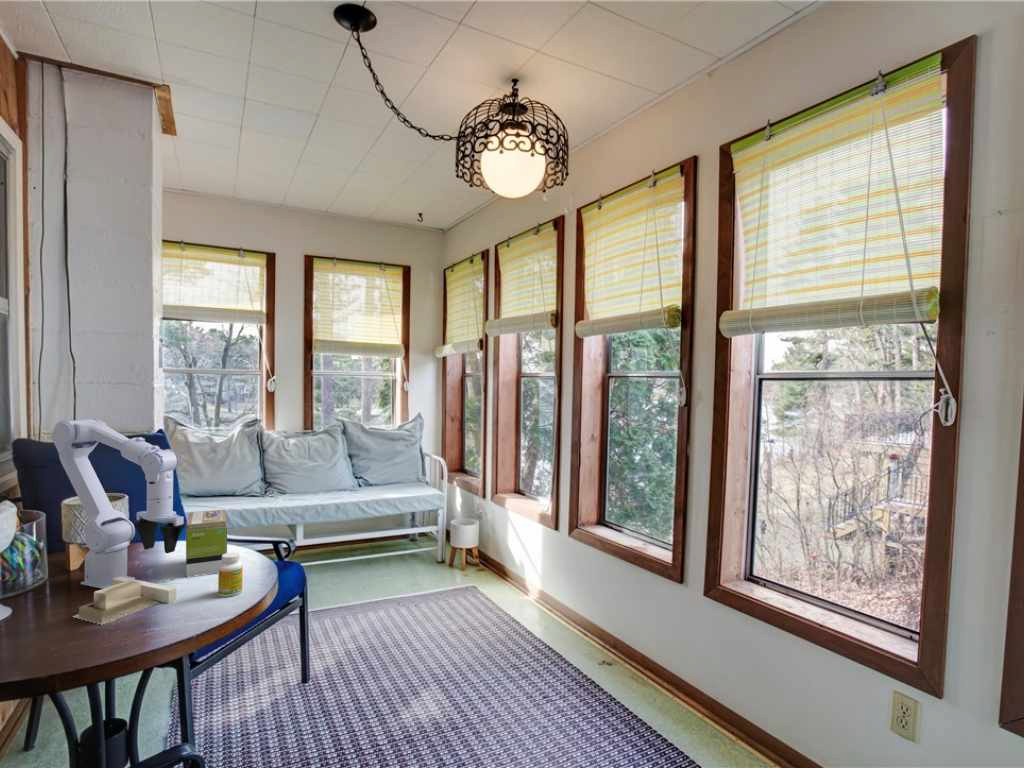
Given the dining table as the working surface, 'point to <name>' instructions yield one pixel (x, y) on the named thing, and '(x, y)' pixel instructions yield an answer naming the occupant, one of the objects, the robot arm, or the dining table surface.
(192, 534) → the tea box
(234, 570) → the supplement bottle
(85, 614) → the keeper
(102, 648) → the dining table surface
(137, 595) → the bar
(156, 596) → the board
